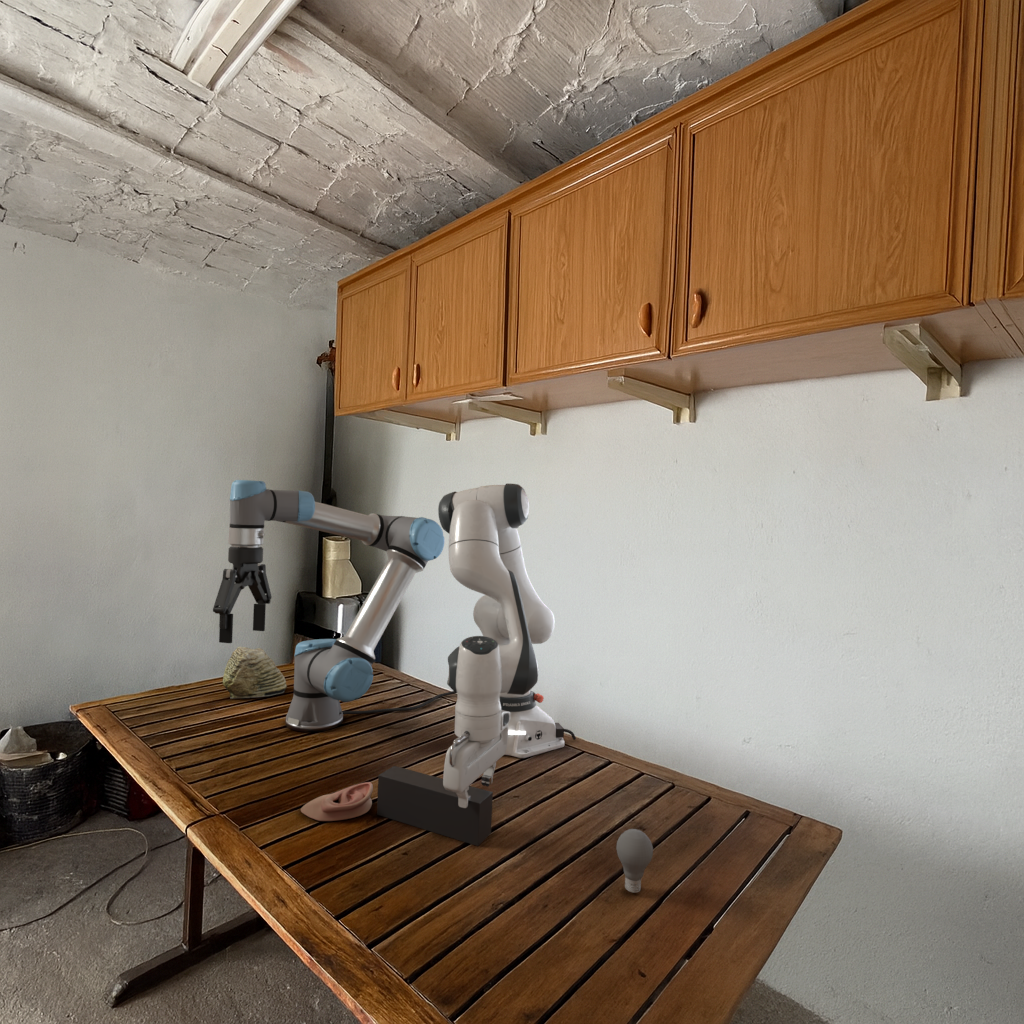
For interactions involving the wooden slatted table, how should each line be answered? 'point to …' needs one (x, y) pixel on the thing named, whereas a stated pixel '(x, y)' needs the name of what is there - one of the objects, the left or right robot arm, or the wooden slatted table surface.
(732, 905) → the wooden slatted table surface
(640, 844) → the light bulb
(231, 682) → the fossil
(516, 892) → the wooden slatted table surface
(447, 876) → the wooden slatted table surface
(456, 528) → the right robot arm
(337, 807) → the anatomical model
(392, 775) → the bar
